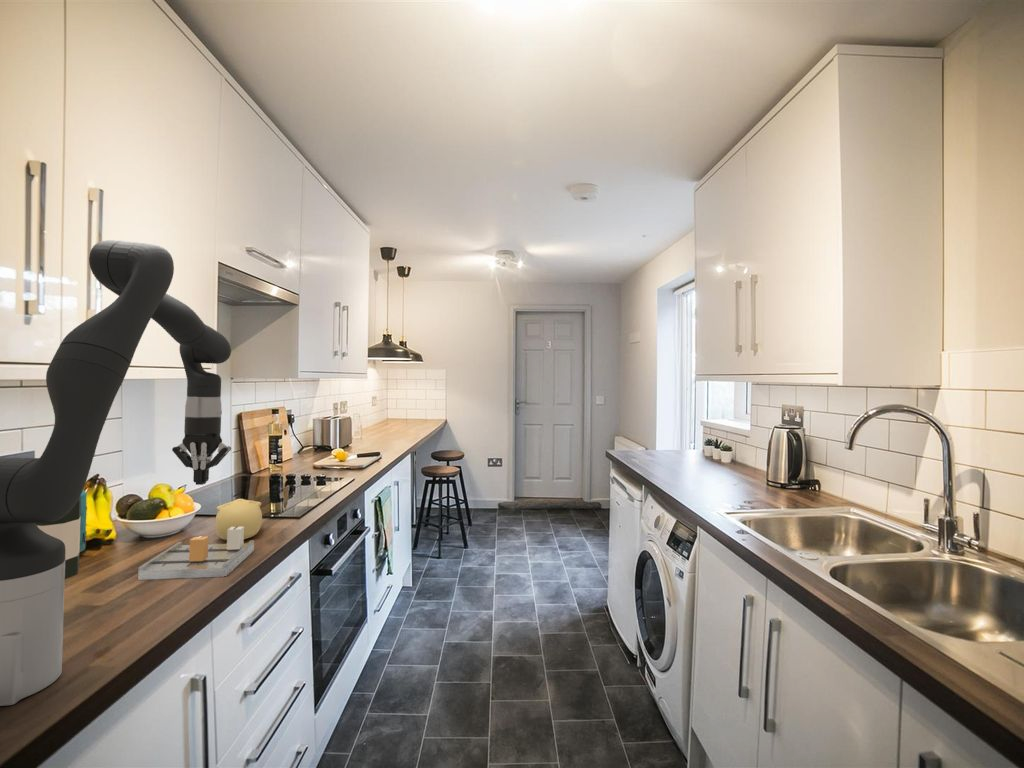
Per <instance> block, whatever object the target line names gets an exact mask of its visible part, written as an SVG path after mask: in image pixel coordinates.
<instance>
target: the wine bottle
mask: <svg viewBox="0 0 1024 768" xmlns="http://www.w3.org/2000/svg"><path fill="white" fill-rule="evenodd" d="M80 519H81V497H80V498H79V499H78V501H77V503H76V504H75V506H74V507H73V508H72V509H71V511H70V512H69V513H68V514H66V515H65V516H64V517H62V518H61V519H58V520H56V521H53V522H47V523H35V524H36V525H37V527H38V528H39V529H40V530H42V531H43V532H44V533H46V534H48V535H50V536H53V537H55V538H57V539H59V540H61V541H62V542H63V543H64V544H65V550H66V553H65V580H66V579H68V578H71V577H73V576H76V575H78V573H79V570H80V552H79V551H80Z"/></svg>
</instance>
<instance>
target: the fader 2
mask: <svg viewBox="0 0 1024 768" xmlns="http://www.w3.org/2000/svg"><path fill="white" fill-rule="evenodd" d="M244 540H245V539H244V527H238V526H236V527H230V528H229V529H228V530H227V540H226V544H227V550H230V549H241V548H242V547H243V544H244V542H245V541H244Z"/></svg>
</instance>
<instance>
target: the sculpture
mask: <svg viewBox="0 0 1024 768" xmlns="http://www.w3.org/2000/svg"><path fill="white" fill-rule="evenodd" d="M261 506H262V502H260V501H255V500H251V499H250V500H249V499H244V498H237V499H234V500H232V501H229V502H226V503H224V504H221V505H218V506H216V510H217V514H216V516H215V520H214V524H215V531H216V534H217V536H218V538H220V539H221V540H224V541H227V530H228V529H229V528H230V527H236V526H238V527H244V540H246V539H250V538H252V537H254V536H255V535H257V534H258V532H259V531H260V529H261V527H262V523H263V512H262V510H261Z"/></svg>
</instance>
